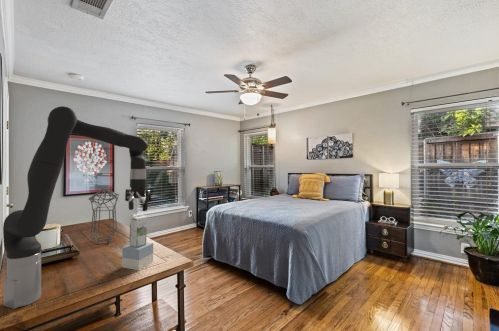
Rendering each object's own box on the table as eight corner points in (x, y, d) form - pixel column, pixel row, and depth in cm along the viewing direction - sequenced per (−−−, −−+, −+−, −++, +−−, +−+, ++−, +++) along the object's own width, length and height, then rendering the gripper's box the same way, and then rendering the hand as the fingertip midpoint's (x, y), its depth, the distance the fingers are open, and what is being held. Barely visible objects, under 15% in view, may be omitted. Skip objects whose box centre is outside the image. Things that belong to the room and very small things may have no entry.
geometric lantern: (119, 237, 165) (120, 186, 164) (115, 245, 150) (116, 189, 149) (92, 239, 159) (93, 187, 158) (85, 247, 144) (86, 190, 143)
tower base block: (138, 270, 114) (138, 260, 114) (122, 267, 117) (122, 257, 117) (153, 262, 124) (153, 252, 124) (137, 260, 127) (137, 250, 127)
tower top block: (139, 260, 114) (139, 249, 114) (122, 257, 117) (122, 247, 117) (153, 252, 124) (153, 243, 124) (137, 250, 127) (137, 241, 127)
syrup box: (139, 242, 124) (139, 214, 125) (146, 244, 121) (147, 216, 121) (129, 245, 120) (129, 216, 120) (136, 247, 117) (136, 218, 117)
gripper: (121, 178, 119) (120, 210, 119) (144, 178, 114) (143, 212, 114) (132, 177, 126) (132, 208, 126) (155, 178, 121) (154, 209, 121)
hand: (138, 210), depth 120 cm, fingers open, 8 cm apart
